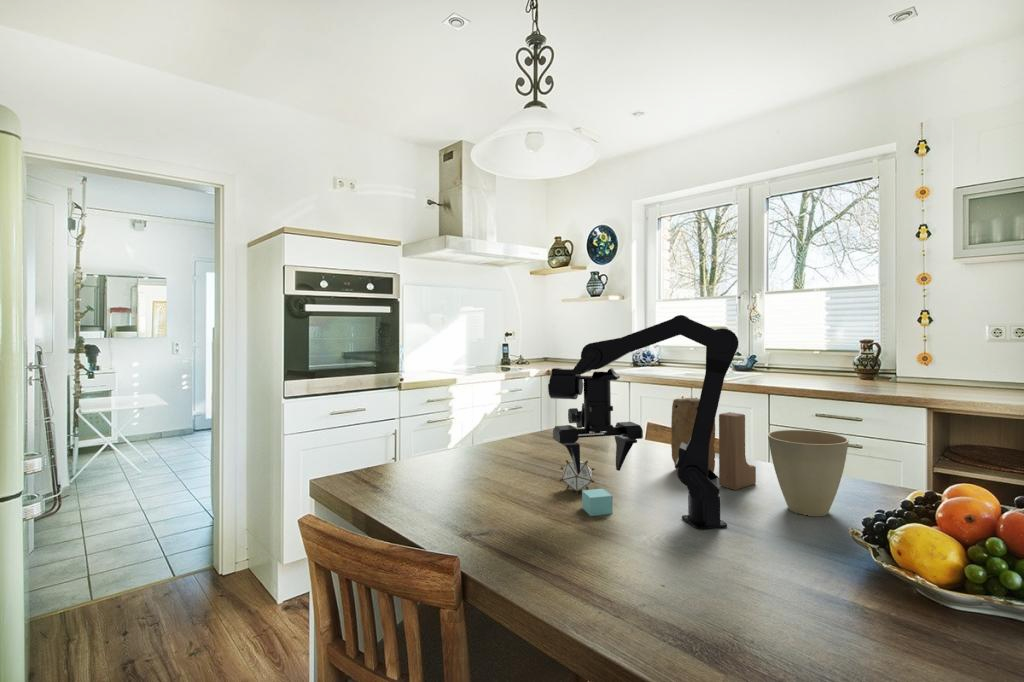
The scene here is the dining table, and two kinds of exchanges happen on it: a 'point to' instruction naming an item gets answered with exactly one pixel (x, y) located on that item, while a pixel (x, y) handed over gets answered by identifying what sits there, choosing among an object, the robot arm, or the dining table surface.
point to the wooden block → (733, 453)
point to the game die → (577, 476)
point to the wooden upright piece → (687, 427)
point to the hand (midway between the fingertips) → (598, 471)
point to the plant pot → (808, 468)
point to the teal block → (597, 502)
